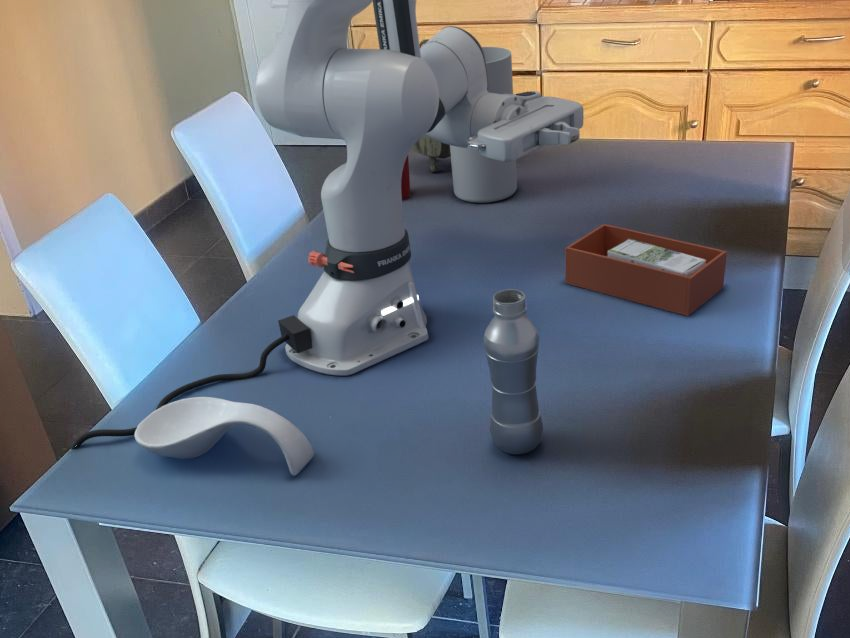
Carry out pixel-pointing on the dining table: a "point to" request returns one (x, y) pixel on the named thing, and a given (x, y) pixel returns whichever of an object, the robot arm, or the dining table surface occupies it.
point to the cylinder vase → (470, 169)
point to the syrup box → (656, 257)
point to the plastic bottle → (513, 374)
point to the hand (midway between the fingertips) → (574, 137)
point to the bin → (643, 271)
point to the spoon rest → (216, 429)
